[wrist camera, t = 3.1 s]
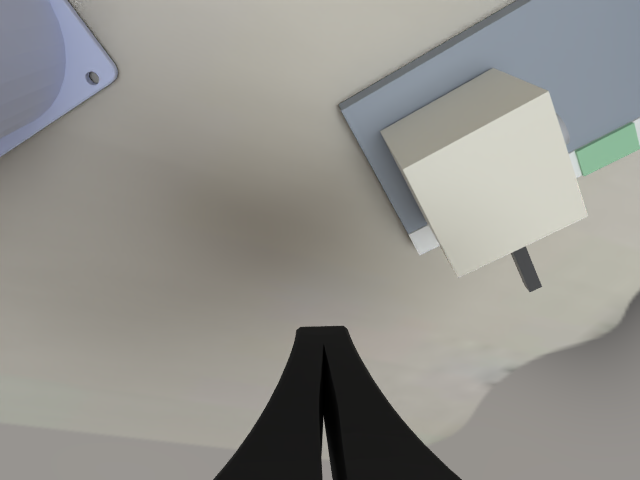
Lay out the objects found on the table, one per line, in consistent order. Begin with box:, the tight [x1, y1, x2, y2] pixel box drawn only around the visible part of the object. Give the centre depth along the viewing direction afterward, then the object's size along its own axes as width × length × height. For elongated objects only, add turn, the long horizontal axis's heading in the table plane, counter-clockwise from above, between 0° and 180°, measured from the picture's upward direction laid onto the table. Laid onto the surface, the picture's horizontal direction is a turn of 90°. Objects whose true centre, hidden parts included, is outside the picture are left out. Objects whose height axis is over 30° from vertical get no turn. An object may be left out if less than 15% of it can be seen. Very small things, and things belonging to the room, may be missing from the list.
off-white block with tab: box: [380, 68, 588, 292], centre depth 19 cm, size 6×8×5 cm
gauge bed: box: [339, 0, 640, 255], centre depth 20 cm, size 17×8×2 cm, turn 120°
